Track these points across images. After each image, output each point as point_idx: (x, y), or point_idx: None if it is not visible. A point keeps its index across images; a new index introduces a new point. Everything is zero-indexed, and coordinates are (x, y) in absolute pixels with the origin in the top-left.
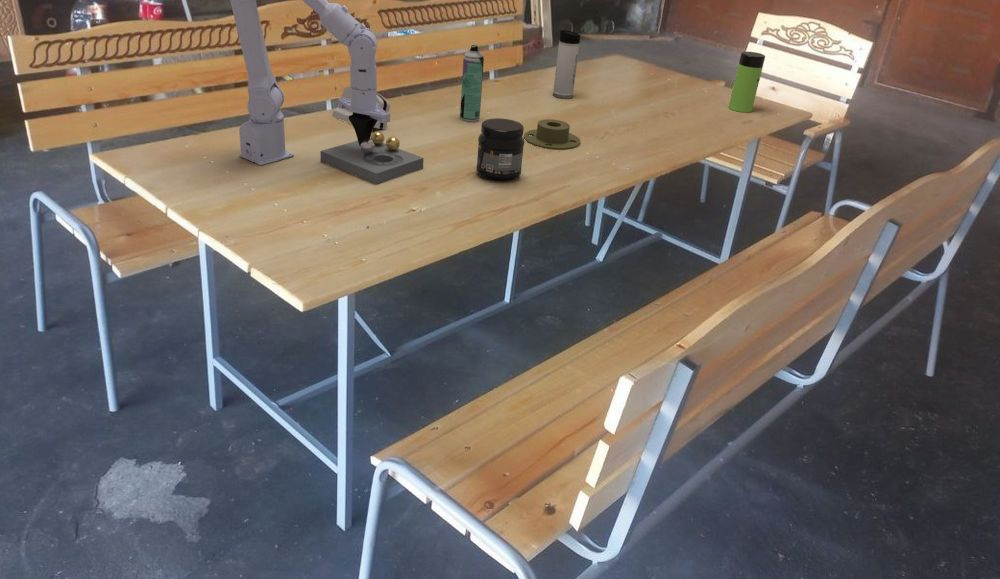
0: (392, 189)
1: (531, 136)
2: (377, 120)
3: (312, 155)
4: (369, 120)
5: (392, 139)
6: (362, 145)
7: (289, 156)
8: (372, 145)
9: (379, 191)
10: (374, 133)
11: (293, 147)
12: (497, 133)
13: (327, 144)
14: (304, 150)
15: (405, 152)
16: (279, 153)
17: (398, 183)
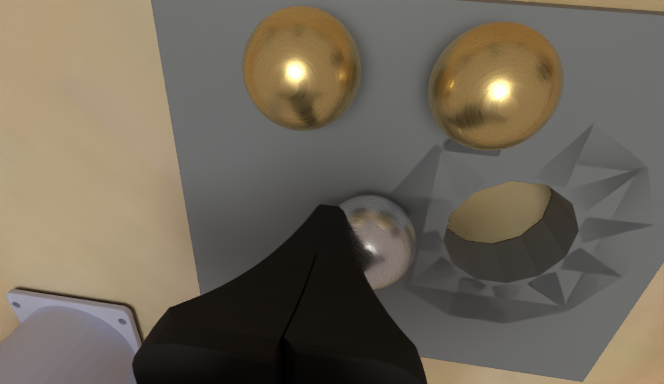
0: (653, 339)
1: None
2: (408, 342)
3: (149, 260)
4: None
5: (520, 134)
6: None
7: (133, 325)
8: (412, 254)
9: (606, 371)
10: (289, 121)
11: (34, 243)
12: None
13: (44, 121)
14: (83, 241)
15: (598, 36)
16: (124, 366)
17: (655, 285)
